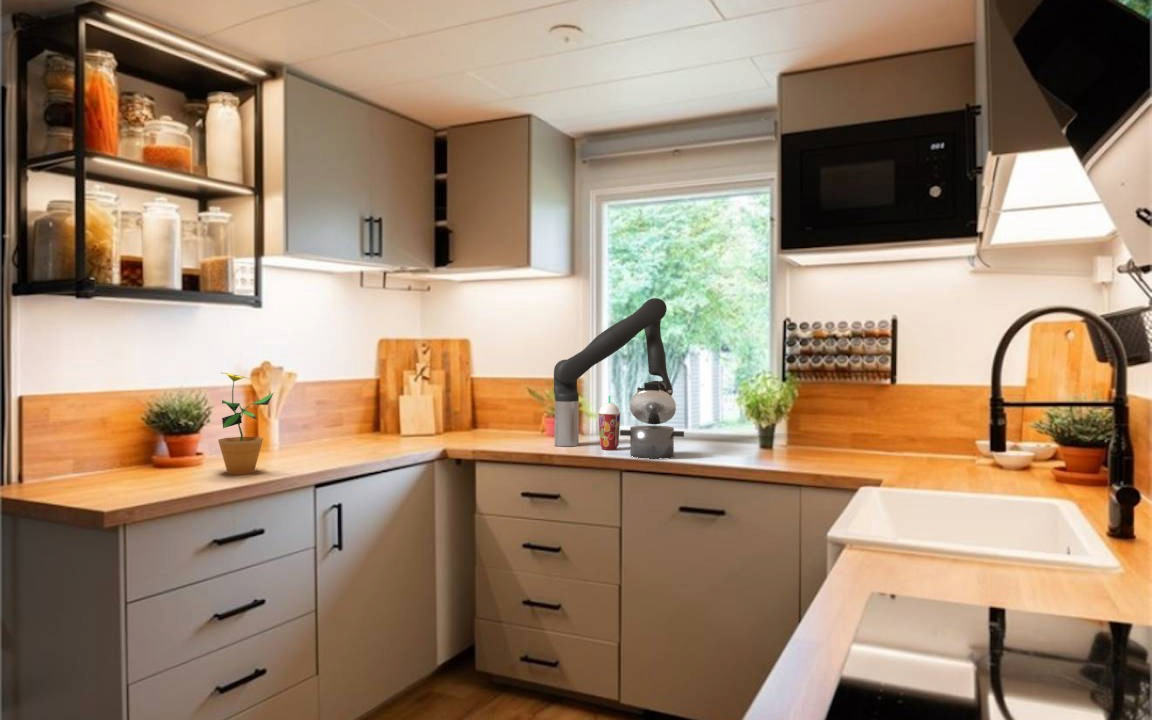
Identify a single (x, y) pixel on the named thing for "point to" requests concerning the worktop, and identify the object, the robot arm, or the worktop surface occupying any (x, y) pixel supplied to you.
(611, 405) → the smoothie
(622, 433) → the cooker pot
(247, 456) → the potted plant
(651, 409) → the lid
